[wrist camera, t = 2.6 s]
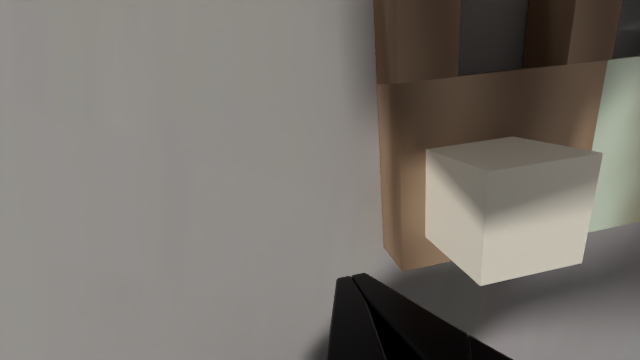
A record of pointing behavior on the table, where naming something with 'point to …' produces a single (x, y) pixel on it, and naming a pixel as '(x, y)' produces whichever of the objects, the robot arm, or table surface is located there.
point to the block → (510, 205)
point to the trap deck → (502, 105)
